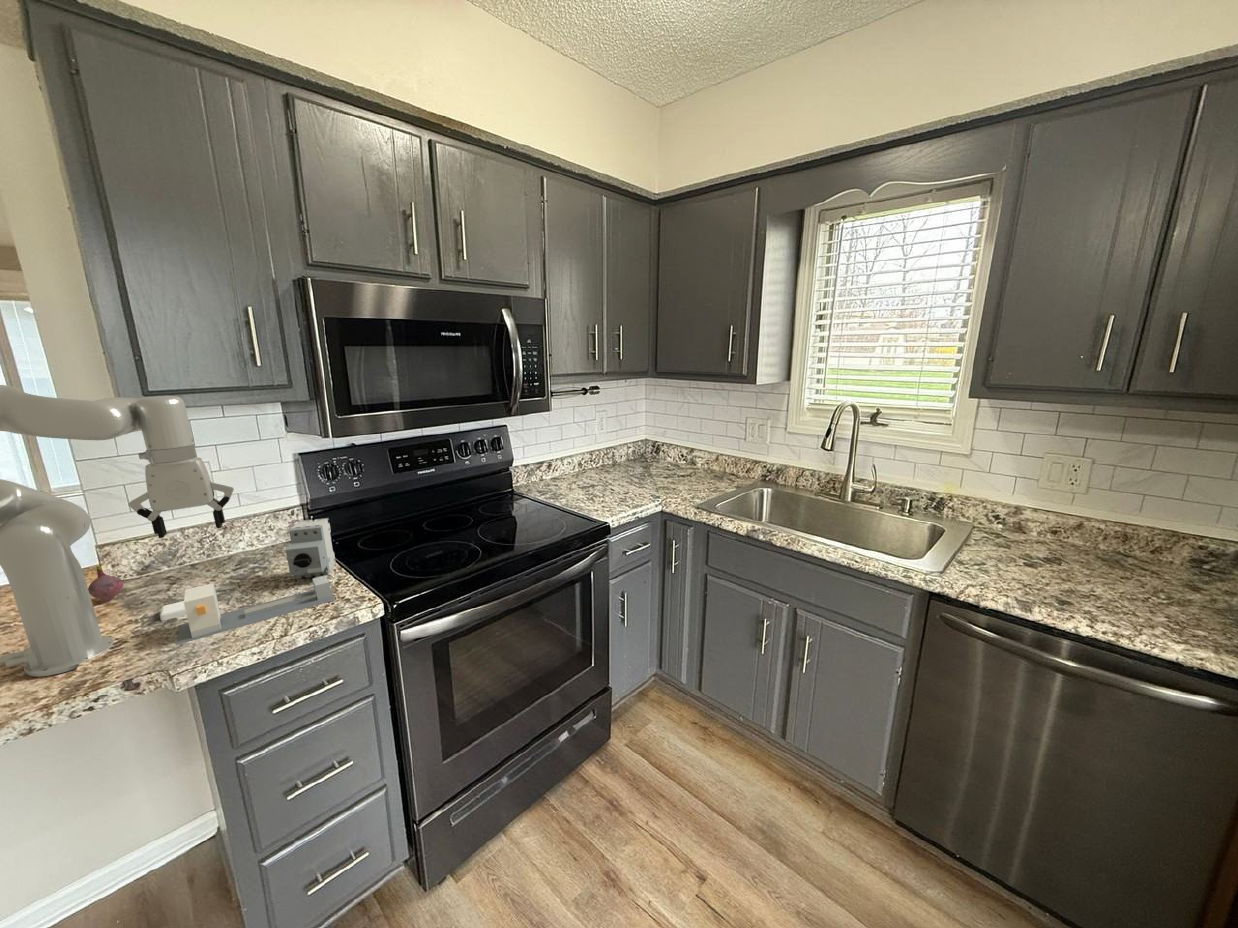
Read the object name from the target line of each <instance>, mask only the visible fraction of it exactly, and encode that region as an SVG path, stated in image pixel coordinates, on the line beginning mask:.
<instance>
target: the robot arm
mask: <svg viewBox="0 0 1238 928" xmlns="http://www.w3.org/2000/svg"><path fill="white" fill-rule="evenodd" d="M186 408H187V407H186V404H185V401H184V400H183V399H182V398H181V397H180V396H177V395H157V396H156V395H155V396H148V397H147V396H146V397H142V398H141V397H118V396H116V397H106V398H101V399H94V400H84V399H72V398H71V399H70V398H61V397H50V396H43V395H37V394H36V395H35V394H32V393H27V392H25V391H22V389H20V388H18V387H17V386H11V385H6V384H0V432H8V433H11V434H18V435H26V436H32V437H39V438H50V439H63V440H65V439H66V440H77V441H107V440H108V441H110V440H113V439H115V438H118V437H121V436H123V435H128V434H131V433H135V432H136V433H137V432H139V431H141V433H142V436H143V441H144V445H145V448H146V450H145V451H143V452H139V453H138V458H139V460H147V461H148V464H146V465H145V469H144V470H145V471H144V472H145V473H144V474H145V484H146V490H147V491H146V492H144V493H142V494H141V495H139V496H138V497H136V498H134V499H132V500H131V501H129V502H128V503H127V505H128V506H129V507H130V508H131V509H132V510H133V511H134V512H136V514H137V515H139V516H141V517H142V518H146V519H147V520H148V521H149V522H151V525H152V526H151V527H152V529H153V533H154V535H157V536H158V539H163V538H164V537H166V536H167V528H166V525H165V521H164V517H163V516H161V513H162V512H168V511H169V512H170V511H177V510H182V509H183V510H184V509H190V508H195V507H196V508H197V507H202V506H203V507H204V506H209V507H210V508H212V509H213V511H212V516H213V520H214V524H215V528H216V529H221V528H222V526H223V524H224V523H225V522H226V519H225V516H224V515H225V514H224V510H223V508H224V507H225V506H226V504H228V503H229V501H230V500H231V497H232V495H233V492H234V487H232V486H229V485H225V484H222V483H221V484H220V483H217V482H212V480H211V478H210V474H209V471H208V469H207V467H206V464H205V462H204V461H203V459H202V457H198V455H197V451H196V446H195V442H194V438H193V433H192V429H191V425H190V421H189V416H188V413H187V409H186ZM215 491H217V492H222V493H224V494H223V497H222V498H221V499H220V500H218V499H217V498H216V497H215ZM147 500H148V501H149V505H150V509H149V508H146V507H144V506H143V504H142V503H144V502H145V501H147ZM90 527H91V518H90V516H89V514H88V512H87V510H85V509H84V508H83V507H81V506H80V505H78V504H76V503H74V502H72V501H69V500H67V499H63V498H61V497H58V496H55V495H52V494H49V493H46V492H43V491H40V490H38V489H34V488H32V487H29V486H26V485H23V484H20V483H17V482H15V481H11V480H7V479H1V478H0V567H1V569H2V570H3V572H4V575H5V577H6V578H7V580H8V581H7V582H8V583H9V586H10V589H11V592H12V596H13V598H14V600H15V604H16V606H17V609H18V610H17V611H18V613H19V615H20V619H21V622H22V626H23V628H24V631H25V635H26V638H27V641H28V644H29V647H26V648H25V647H24V649H23V650H20V651H16V652H11V653H6V654H2V655H0V666H5V667H6V668H7V669H8V668H12V667H16V666H18V665H23V664H25V665H24V668H23V671H24V673H25V674H26V675H27V676H30V677H38V678H41V677H48V676H53V675H59V674H62V673H65V672H69V671H72V670H76V669H78V667H79V665H80V664H82V663H85V662H88V661H90V660H92V659H93V658H96V657H98V656H100V655H102V654H103V653H105V652H106V651H108V650H109V649H110V648H111V647H112V646H113V645H114V642H115V640H114V639H113V638H112V637H111V636H105V635H104V636H103V635H102V634H101V630H100V626H99V622H98V619H97V616H96V612H95V609H94V604H93V601H92V598H91V597H92V596H91V595H90V594H89V590H88V587H89V586H88V583H87V580H86V578H85V577H86V576H85V574H84V570H83V569H82V566H81V564H80V562H79V561H78V559H77V558H76V555H75V554H74V552H73V550H72V547H71V546H73V544H75V543H76V542H77V541H79V540H80V539H81V538H83V537H84V536H85V535H86V534H87V532H89V530H90Z"/></svg>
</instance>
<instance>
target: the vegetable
mask: <svg viewBox="0 0 1238 928" xmlns="http://www.w3.org/2000/svg"><path fill="white" fill-rule="evenodd" d="M95 568H96V569H95V570H96V573H97V578H95V579H94V580H92V581H91V583H90V584H89V585H88V586H87V587H88V590H89V594H90V597H93V598H95V599H98V600H101V601H107V602H109V600H110V601H111V600H113V599H114V598H115V597H116V596H117V595H118V594H120V593H121V592H122V591H123V588H124V583H123V582H124V581H123V580H122V579H121V578H119V577H118V576H113V575H109V574H107V573H105V572H104V571H103V569H102V567H101V565H99V564H98V565H97V566H96V567H95Z"/></svg>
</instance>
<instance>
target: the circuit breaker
mask: <svg viewBox="0 0 1238 928" xmlns="http://www.w3.org/2000/svg"><path fill="white" fill-rule="evenodd" d="M329 520H330V519H329V517H327V518H318V519H317V518H316V519H314V520H312V519H305V520H299V521H298V522H297V521H296V523H295V524H294V525H293V526H292V527H291V528H290V529H289V536H290V537H289V538H290V541H291V542H290V543H291V544H290V545H288V547H286V549H285V553H286V560H287V563H288V570H289V576H290V577H294V576H296V577H297V579H302V578H304V577H305V579H306V578H312V577H321V576H322V575H323V576H325V575H326V576H328V575H330V573H331V571H332V569H334V566H335V562H336V557H335V555H336V554H335V551H334V550H333V549H334V548H333V543H332V536H331V532H332V531H331V525H330V524H331V523H330V522H329Z"/></svg>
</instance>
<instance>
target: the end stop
mask: <svg viewBox="0 0 1238 928" xmlns="http://www.w3.org/2000/svg"><path fill="white" fill-rule="evenodd" d="M312 585H313V590H314V591H315V592H316V595H317V600H321V599H325V598H329V597H332V596H331V591H332V590H330V589H331V585H330V581H329V579H328V577H327V575H323V576H322V575H321V576H317V577H314V578H312Z"/></svg>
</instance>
